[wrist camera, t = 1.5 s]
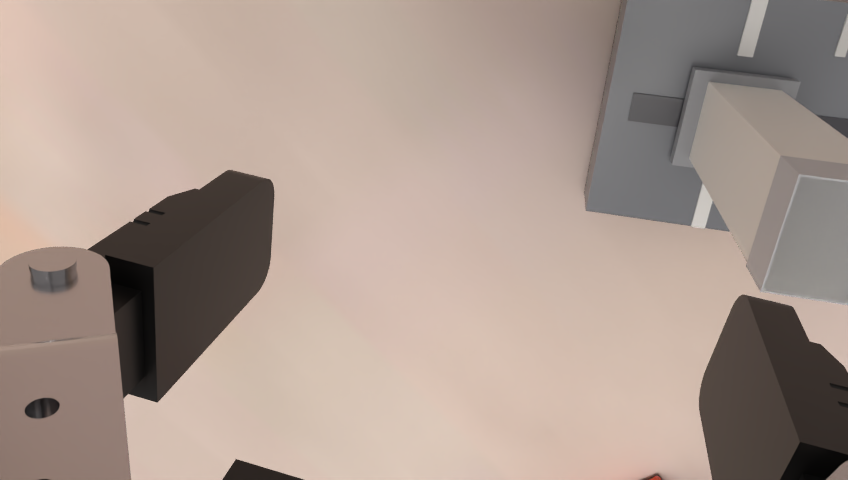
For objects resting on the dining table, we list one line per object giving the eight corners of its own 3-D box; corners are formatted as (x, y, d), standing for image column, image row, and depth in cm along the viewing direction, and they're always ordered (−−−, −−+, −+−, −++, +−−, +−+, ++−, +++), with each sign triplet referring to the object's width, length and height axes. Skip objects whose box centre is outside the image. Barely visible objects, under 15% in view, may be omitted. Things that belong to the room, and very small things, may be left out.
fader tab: (669, 160, 30) (735, 300, 19) (692, 66, 28) (780, 157, 17) (766, 173, 30) (894, 325, 18) (795, 78, 28) (956, 180, 17)
